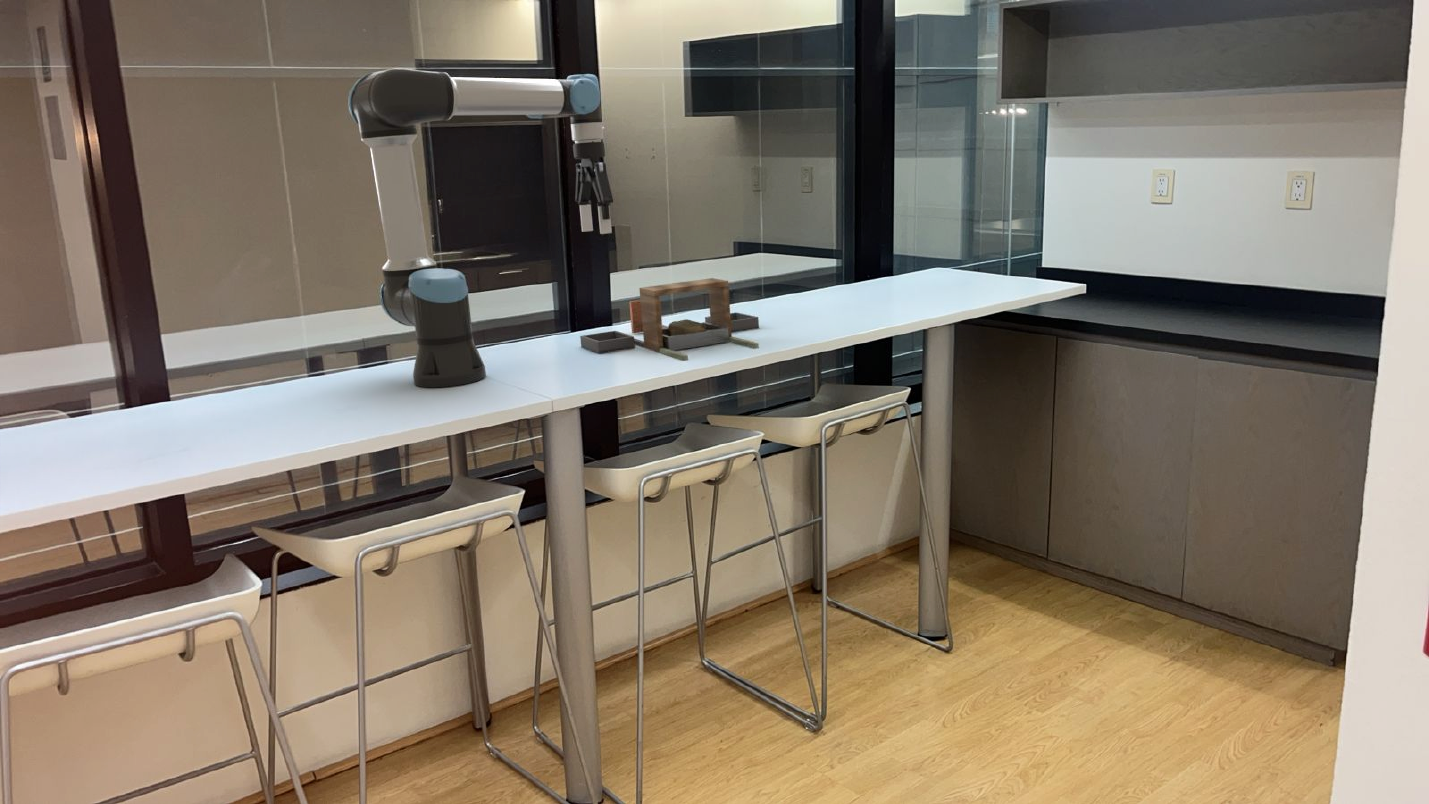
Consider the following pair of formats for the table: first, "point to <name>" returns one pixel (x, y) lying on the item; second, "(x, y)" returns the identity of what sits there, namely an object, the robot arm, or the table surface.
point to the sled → (685, 340)
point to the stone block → (685, 327)
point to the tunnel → (651, 294)
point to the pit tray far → (740, 322)
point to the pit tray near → (607, 342)
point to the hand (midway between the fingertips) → (596, 232)
